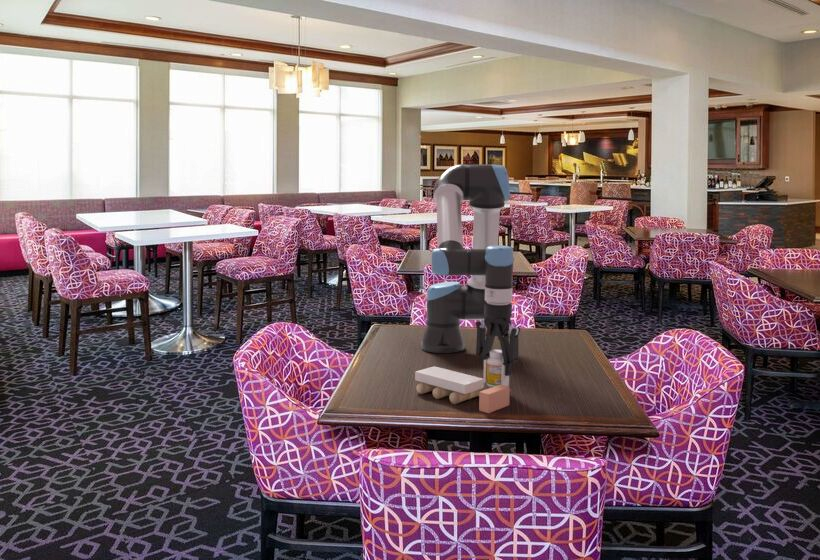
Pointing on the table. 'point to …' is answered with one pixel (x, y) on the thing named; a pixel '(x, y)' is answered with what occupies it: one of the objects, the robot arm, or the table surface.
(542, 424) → the table surface
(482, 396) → the block
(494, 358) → the supplement bottle
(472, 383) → the slab
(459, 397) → the roller bed
